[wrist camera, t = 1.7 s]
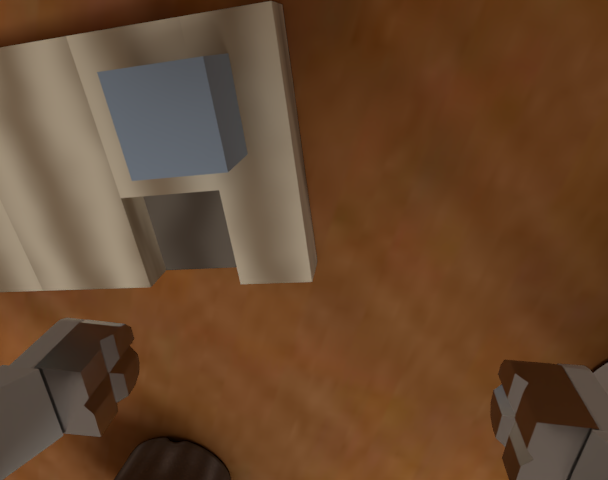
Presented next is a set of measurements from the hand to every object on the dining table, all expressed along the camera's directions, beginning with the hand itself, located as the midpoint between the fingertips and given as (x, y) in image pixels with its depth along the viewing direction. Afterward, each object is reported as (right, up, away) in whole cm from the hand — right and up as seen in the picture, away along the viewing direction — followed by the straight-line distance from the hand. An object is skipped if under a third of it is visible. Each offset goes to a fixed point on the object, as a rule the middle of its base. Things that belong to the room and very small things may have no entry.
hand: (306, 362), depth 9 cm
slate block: (-7, +11, +17) cm, 21 cm away
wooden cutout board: (-18, +8, +24) cm, 31 cm away
